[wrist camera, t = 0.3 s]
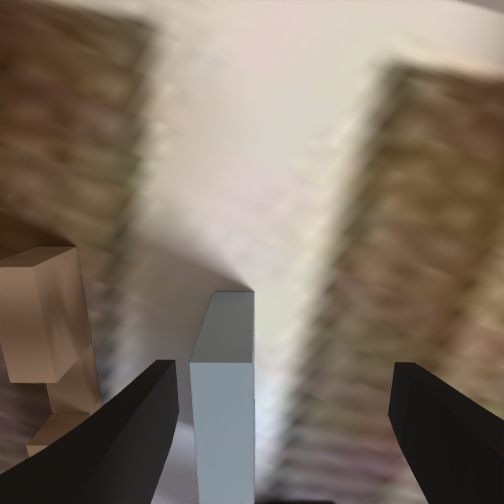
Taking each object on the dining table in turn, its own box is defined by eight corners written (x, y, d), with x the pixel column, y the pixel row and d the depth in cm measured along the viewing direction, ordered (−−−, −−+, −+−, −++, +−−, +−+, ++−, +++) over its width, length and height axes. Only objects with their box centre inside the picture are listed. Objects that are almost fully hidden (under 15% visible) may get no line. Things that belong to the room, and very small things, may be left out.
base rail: (113, 471, 25) (86, 528, 21) (79, 471, 25) (46, 528, 21) (76, 246, 20) (32, 267, 16) (35, 246, 20) (-19, 267, 16)
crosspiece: (255, 441, 24) (253, 565, 16) (220, 441, 24) (203, 564, 16) (254, 291, 20) (252, 363, 13) (213, 291, 20) (189, 362, 13)
